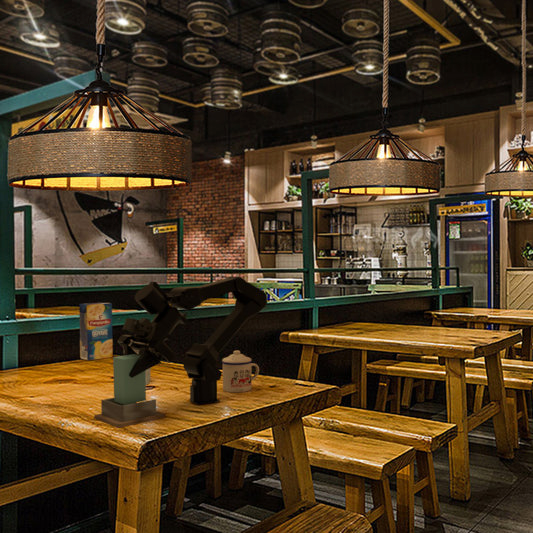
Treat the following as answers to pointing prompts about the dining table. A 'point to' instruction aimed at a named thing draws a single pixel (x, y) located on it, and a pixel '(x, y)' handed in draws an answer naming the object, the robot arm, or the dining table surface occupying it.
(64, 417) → the dining table surface
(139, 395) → the teal green rectangular block
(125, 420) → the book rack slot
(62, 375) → the dining table surface
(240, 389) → the teacup with lid
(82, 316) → the beverage box
